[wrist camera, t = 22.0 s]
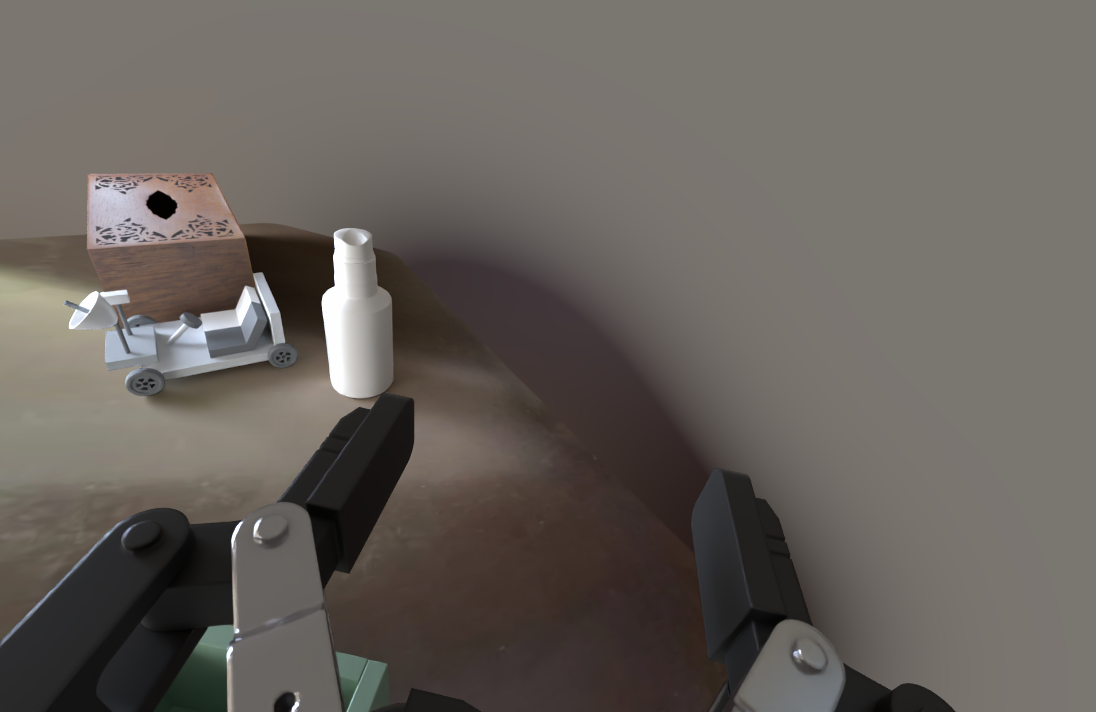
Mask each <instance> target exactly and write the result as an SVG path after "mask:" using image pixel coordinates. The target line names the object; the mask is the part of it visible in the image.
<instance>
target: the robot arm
mask: <svg viewBox="0 0 1096 712" xmlns="http://www.w3.org/2000/svg"><path fill="white" fill-rule="evenodd" d="M413 445H414V400H413V399H412V398H408V397H404V396H400V395H395V394H391V393H386V392H385V393H383V394H382V395H381V396H380V397H379V398H378V400H377V401H376V403H375V404H374V406H373V407H372V408H371V410H370V409H365V408H361V407H358V408H357V409H355V410H354V411H352V412H351V413H349V414H348V415H346V416H344V417H343V418H341V419H340V421H339V422H338V423H337V425H336V426H335V427H334V429H333V430H332V431H331V433H330V434H329V437H327V438H326V439H325V440H324V442H323V443H322V444H321V446H320V449H319V450H317V451H316V452H315V453H314V455H313V456H312V457H311V459H310V460H309V461H308V463H307V464H306V465H305V467H304V468H303V469H302V470H301V472H300V473H299V474H298V476H297V477H296V478H295V480H294V481H293V482H292V483H291V485H290V486H289V487H288V489H287V490H286V491H285V493H284V494H283V495H282V496H281V498H280V499H279V500H278V501H277V502H276V503H273V504H269V505H266V506H263V507H261V508H258V509H256V510H255V511H253V512H251V513H250V514H249V515H247V516H246V517H245V518H244V519H243V520H239V521H232V522H219V523H204V524H190V523H189V521H188V519H187V517H186V516H185V515H184V514H183V513H182V512H180V511H178V510H175V509H171V508H156V509H150V510H147V511H143V512H140V513H137V514H135V515H133V516H131V517H128V518H127V519H125V520H123V521H122V522H120V523H119V524H117V525H116V526H114V527H113V528H112V529H111V530H110V531H109V532H108V533H107V534H106V535H105V536H104V537H103V538H102V539H101V540H100V541H99V542H98V543H97V544H96V545H95V546H94V547H93V548H92V549H91V550H90V551H89V552H88V553H87V554H86V555H85V556H84V557H83V558H82V559H81V560H80V561H79V562H78V563H77V564H76V565H75V566H74V567H73V568H72V569H71V570H70V571H69V572H68V573H67V574H66V575H65V576H64V577H63V579H62V580H61V581H60V582H59V583H58V584H57V585H56V586H55V587H54V588H53V589H52V590H51V591H50V592H49V593H48V594H47V595H46V596H45V597H44V598H43V599H42V600H41V601H40V602H39V603H38V604H37V605H36V606H35V607H34V608H33V609H32V610H31V611H30V612H29V613H28V614H27V615H26V616H25V617H24V618H23V619H22V620H21V621H20V622H19V623H18V624H17V625H16V626H15V627H14V628H13V629H12V630H11V631H10V633H9V634H8V635H7V636H6V637H5V638H4V639H3V640H2V641H1V642H0V712H154V710H155V709H156V707H157V705H158V704H159V702H160V701H161V699H162V698H163V696H164V695H165V693H166V692H167V690H168V689H169V687H170V686H171V684H172V683H173V681H174V679H175V678H176V676H177V675H178V673H179V672H180V670H181V669H182V667H183V666H184V664H185V663H186V661H187V660H188V658H189V657H190V655H191V653H192V652H193V650H194V649H195V647H196V646H197V644H198V643H199V641H200V640H201V638H202V637H203V635H204V634H205V632H206V631H207V629H208V627H212V626H220V625H229V624H234V637H233V640H232V641H230V642H229V645H228V651H227V692H228V712H347V711H346V705H345V700H344V694H343V689H342V683H341V678H340V673H339V667H338V662H337V656H336V650H335V645H334V639H333V633H332V627H331V622H330V616H329V610H328V604H327V599H326V593H325V586H326V585H327V583H328V581H329V579H330V578H331V576H332V574H333V572H334V570H336V571H340V572H345V573H350V571H351V569H352V567H353V566H354V564H355V562H356V560H357V558H358V556H359V554H360V552H361V550H362V548H363V547H364V545H365V543H366V541H367V539H368V537H369V535H370V533H371V531H372V530H373V528H374V526H375V524H376V522H377V520H378V518H379V516H380V514H381V512H382V511H383V509H384V507H385V505H386V503H387V501H388V499H389V497H390V495H391V493H392V492H393V490H394V488H395V486H396V484H397V482H398V480H399V478H400V476H401V474H402V473H403V471H404V469H405V467H406V465H407V463H408V461H409V459H410V456H411V453H412V449H413ZM691 525H692V535H693V542H694V550H695V558H696V566H697V574H698V581H699V589H700V597H701V605H702V612H703V620H704V628H705V635H706V643H707V651H708V659H709V660H712V661H716V662H720V663H725V664H726V668H727V674H728V678H727V680H726V681H725V682H724V683H723V685H722V687H721V688H720V690H719V692H718V693H717V695H716V696H715V698H714V700H713V701H712V703H711V705H710V706H709V708H708V709H707V711H706V712H955V711H954V710H953V709H952V707H951V706H949V705H948V704H947V703H946V702H945V701H944V700H943V699H942V698H940V697H939V696H938V695H936V694H935V693H933V692H932V691H930V690H928V689H926V688H924V687H922V686H919V685H916V684H911V683H910V684H909V683H906V684H902V685H900V686H898V687H897V688H895V689H894V690H892V691H891V690H890V689H888V688H886V687H884V686H882V685H881V684H878V683H877V682H875V681H873V680H871V679H870V678H868V677H866V676H865V675H863V674H861V673H859V672H857V671H856V670H854V669H852V668H850V667H849V666H847V665H846V664H844V663H843V662H842V660H841V658H840V656H839V654H838V652H837V650H836V649H835V648H834V646H833V645H832V643H831V642H830V641H829V640H828V639H827V638H826V637H825V636H824V635H823V634H822V633H820V631H818V630H817V629H815V628H814V627H813V625H812V622H811V619H810V616H809V613H808V610H807V607H806V603H805V600H804V597H803V594H802V591H801V588H800V584H799V581H798V578H797V575H796V572H795V569H794V566H793V562H792V560H791V559H790V553H789V549H788V546H787V543H785V537H784V534H783V530H782V527H781V524H780V521H779V518H778V517H777V516H776V514H775V513H774V511H773V510H772V509H771V507H770V506H769V504H768V503H767V502H766V500H764V499H760V498H755V495H754V491H753V487H752V484H751V480H750V478H749V476H748V475H746V474H742V473H738V472H733V471H729V470H725V469H720V468H716V469H715V470H714V471H713V472H712V474H711V476H710V478H709V480H708V482H707V483H706V485H705V487H704V489H703V491H702V493H701V494H700V496H699V498H698V500H697V502H696V504H695V506H694V509H693V513H692V523H691ZM370 712H481V711H479V710H478V709H476V708H474V707H473V706H471V705H469V704H468V703H466V702H465V701H463V700H460V699H455V698H451V697H447V696H443V695H439V694H435V693H430V692H426V691H422V690H418V689H414V688H411V691H410V694H409V697H408V700H407V702H406V703H397V704H392V705H388V706H384V707H381V708H378V709H376V710H373V711H370Z"/></svg>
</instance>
